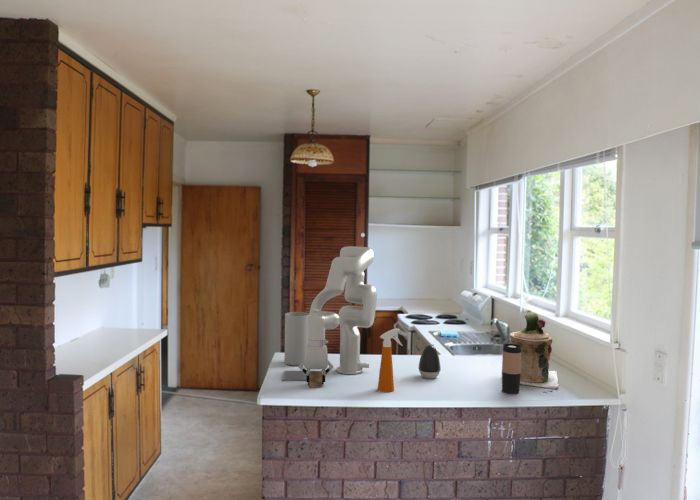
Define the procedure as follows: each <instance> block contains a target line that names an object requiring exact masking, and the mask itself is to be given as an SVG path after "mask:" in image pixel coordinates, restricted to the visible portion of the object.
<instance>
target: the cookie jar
mask: <svg viewBox="0 0 700 500" xmlns="http://www.w3.org/2000/svg"><path fill="white" fill-rule="evenodd" d="M524 319H525V320H526V321H525V322H526V323H525V324H526V326H525V328H522V329H521V330H519V331H514V332H513V331H512V332H511V333H510V334H509V338H510V344H517V345H520V346H521V374H520V386H521V385H522V386H527V387H528V386H530V387H537V388H545V389H550V390H551V389H557V388H558V387H559V386H560V383H559V377H558V372H557V370H550V369H549V368H550V362H549V361H550V357H551V353H552V351H553V349H552V348H553V347H552V343H553V338H552V337H551V335H550V333H546V332H545V331H544V330H543V328H545V326H546V320H544V319H543V318H539V315H538V314H537V313H536V312H533V311H531V310H530V309H528V310H527V311H526V313H525V315H524Z"/></svg>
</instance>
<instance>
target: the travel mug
mask: <svg viewBox="0 0 700 500" xmlns="http://www.w3.org/2000/svg"><path fill="white" fill-rule="evenodd" d="M501 363H502V366H501V391H502V393H505V394H508V395H517V394H518V395H519V394H520V389H521V384H520V374H521V346H520V345H517V344H511V343H504V344H503V345H502V362H501Z"/></svg>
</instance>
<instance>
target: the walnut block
mask: <svg viewBox="0 0 700 500" xmlns="http://www.w3.org/2000/svg"><path fill="white" fill-rule="evenodd" d="M322 374H323V372H322V370H310V377H309V385H308V387H309V388H323V384H322Z"/></svg>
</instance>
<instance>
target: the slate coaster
mask: <svg viewBox="0 0 700 500" xmlns="http://www.w3.org/2000/svg"><path fill="white" fill-rule="evenodd" d="M309 374H310V372H309ZM281 381H285V382H286V381H289V382H295V381H296V382H302V381H303V382H306V381H307V376H306V374H305V373H304V372H303V371H302V370H284V371H283V375H282V379H281Z"/></svg>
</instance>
